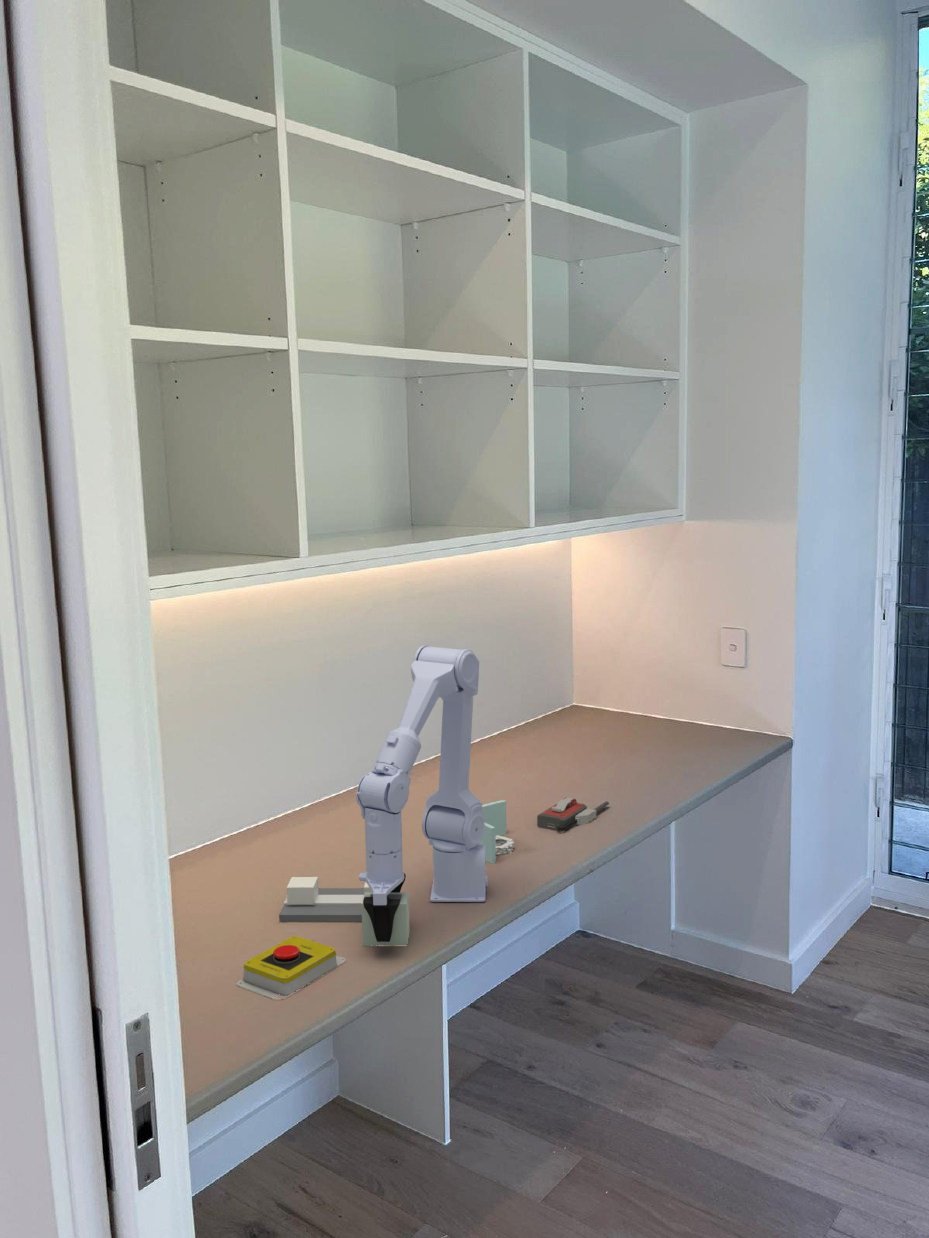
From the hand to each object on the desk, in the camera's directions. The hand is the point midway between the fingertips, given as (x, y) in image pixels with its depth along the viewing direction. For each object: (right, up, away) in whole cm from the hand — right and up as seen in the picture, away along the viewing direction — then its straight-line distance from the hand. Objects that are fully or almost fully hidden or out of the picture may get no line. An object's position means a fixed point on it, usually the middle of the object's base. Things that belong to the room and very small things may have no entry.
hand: (386, 929), depth 168 cm
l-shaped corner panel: (+19, +4, +39) cm, 44 cm away
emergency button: (-13, -4, -10) cm, 17 cm away
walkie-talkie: (+35, +7, +56) cm, 67 cm away
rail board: (-9, 0, +12) cm, 15 cm away
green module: (0, -2, 0) cm, 2 cm away
